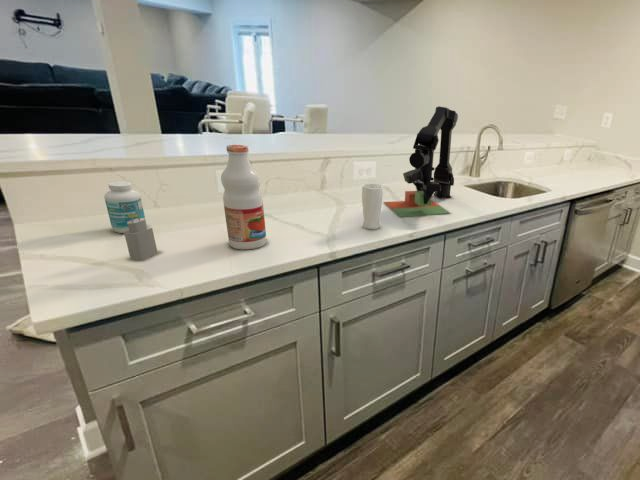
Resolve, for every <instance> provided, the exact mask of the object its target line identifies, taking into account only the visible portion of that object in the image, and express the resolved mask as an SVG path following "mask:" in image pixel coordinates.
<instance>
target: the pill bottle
mask: <svg viewBox="0 0 640 480" xmlns="http://www.w3.org/2000/svg"><path fill="white" fill-rule="evenodd" d="M107 185H108V189H109V191H106V193H105V194H104V201H105V205H106V211H107V214H108V219H109V222H110V226H111V230H112V231H113V232H115V233H119V234H124V232H126V231H128V230H129V228H128V224H127V222H128V221H131V215H130V213H132V217H133V220H134V219H137V218H138V214H137V210H138V212H139V216H140V218H145V221H146V220H147V219H146V217H145V211H144V205H143V202H142V197H141V194H140V192H138V191H137V190H135V189H133V186H132V183H131V182H130V181H112V182H109V183H108V184H107ZM146 222H147V221H146Z"/></svg>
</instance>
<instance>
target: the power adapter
mask: <svg viewBox="0 0 640 480" xmlns="http://www.w3.org/2000/svg"><path fill="white" fill-rule="evenodd" d="M137 214H138V218H137V219H134V220H133V217H132V213H130V215H131V221H128V222H127V224H128V228H129V230H128V231H126V232H124V233H123V235H124V237H125V238H124V239H125V243H126V247H127V250H128V254H129V258H130V260H131V261H136V262H141V261H145V260H147V259H150V258H151V257H153V256H155V255H157V254H158V252H159V251H158V247H157V243H156V239H155V234H154V229H153V227H152V226H148V225H147V221H145V220H146V217H145V218H140V216H139V212H138V210H137Z"/></svg>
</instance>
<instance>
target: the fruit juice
mask: <svg viewBox="0 0 640 480" xmlns="http://www.w3.org/2000/svg"><path fill="white" fill-rule="evenodd" d="M225 149H226V153H227V154H228V161H227V165H226V167H225V169H224V170H223V171H222V172H221V175H220V182H221V185H222V187H223V189H224V192H223V194H222V200H223V201H222V202H223V209H224V215H225V216H224V217H225V223H226V224H225V225H226V231H227V232H226V233H227V239H228V244H229V246H230V247H231V248H233V249H236V250H252V249H258V248H260V247H264V245H265V244H266V242H267V230H266V220H265V211H264V210H265V209H264V199H263V195H262V192H261V190H260V187H261V186H260V185H261V177H260V174H259V173H258V172H257V171H256V169H254V167H253V165H252V163H251V162H250V159H249V156H248V154H249V147H248V146H247V145H243V144H229V145H226V148H225Z"/></svg>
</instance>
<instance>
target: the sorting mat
mask: <svg viewBox="0 0 640 480" xmlns="http://www.w3.org/2000/svg"><path fill="white" fill-rule="evenodd" d="M384 204H385V205H386V206H387V207H388V208H389V209H391V210H392V211H393V212H394V213H395V214H396V215H397V216H398V217H399V218H406V217H421V216H434V215H449V214H451V213H450V212H449V211H448V210H447V209H445V208H444V207H443V206H441V205H439V204H438V203H437V202H435V201H433V200H432V199H431V206H418V205H415V206H409V205H408V204H406V203H405V200H400V201H399V200H398V201H384Z"/></svg>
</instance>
